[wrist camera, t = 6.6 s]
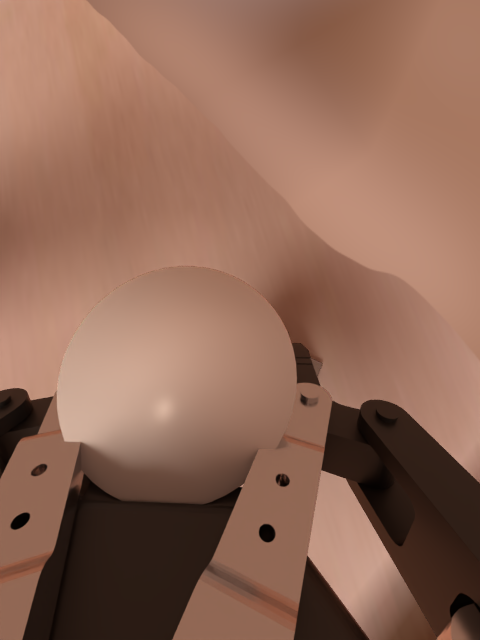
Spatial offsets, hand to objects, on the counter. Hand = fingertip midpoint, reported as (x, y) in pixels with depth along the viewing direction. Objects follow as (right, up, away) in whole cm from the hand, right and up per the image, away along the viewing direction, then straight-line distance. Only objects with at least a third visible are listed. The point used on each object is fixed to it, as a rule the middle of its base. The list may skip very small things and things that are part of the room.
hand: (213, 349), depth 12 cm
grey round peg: (0, -3, +3) cm, 5 cm away
